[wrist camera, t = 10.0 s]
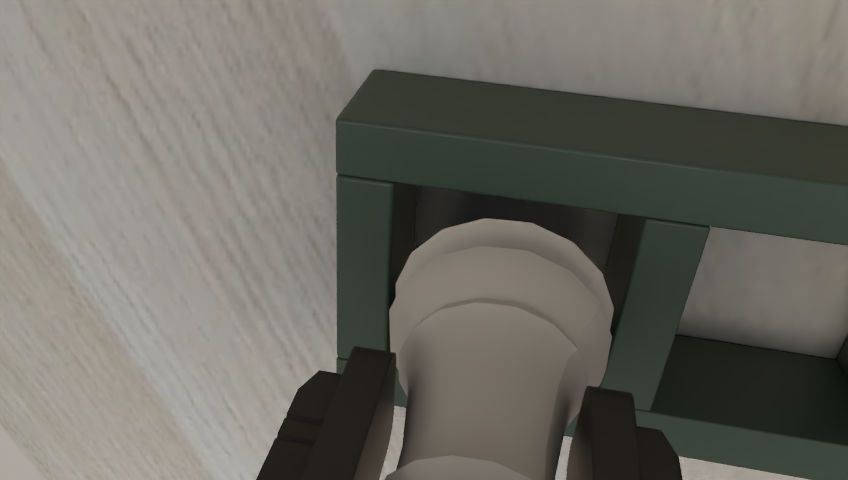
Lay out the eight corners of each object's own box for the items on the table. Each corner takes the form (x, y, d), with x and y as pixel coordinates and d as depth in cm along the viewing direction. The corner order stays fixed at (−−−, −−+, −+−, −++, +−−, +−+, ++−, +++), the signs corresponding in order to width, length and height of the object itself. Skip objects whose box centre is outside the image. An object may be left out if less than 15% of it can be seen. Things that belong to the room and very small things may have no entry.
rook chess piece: (546, 168, 13) (513, 550, 6) (650, 340, 15) (710, 791, 8) (358, 258, 15) (179, 627, 8) (467, 402, 16) (393, 809, 10)
